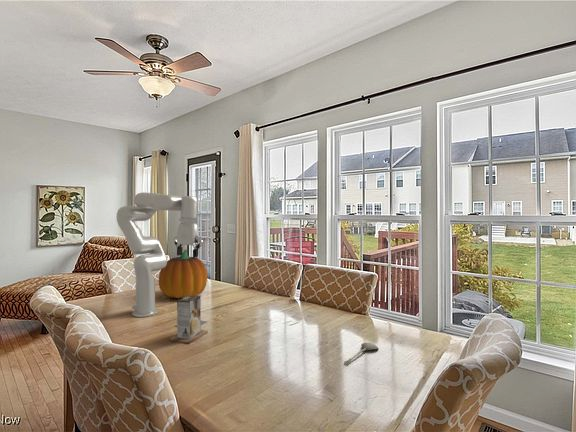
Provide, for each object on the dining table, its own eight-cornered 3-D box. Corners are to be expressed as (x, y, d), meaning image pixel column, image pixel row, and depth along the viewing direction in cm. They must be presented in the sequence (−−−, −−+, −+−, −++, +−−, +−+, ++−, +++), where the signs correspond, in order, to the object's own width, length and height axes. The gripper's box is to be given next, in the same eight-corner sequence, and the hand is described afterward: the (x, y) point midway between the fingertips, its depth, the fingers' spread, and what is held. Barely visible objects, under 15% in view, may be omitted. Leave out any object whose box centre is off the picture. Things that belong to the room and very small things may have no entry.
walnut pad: (169, 340, 132) (169, 338, 132) (189, 329, 145) (189, 328, 145) (189, 344, 129) (189, 342, 129) (207, 332, 141) (207, 331, 141)
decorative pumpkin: (194, 288, 225) (194, 246, 225) (215, 296, 203) (215, 250, 203) (152, 295, 205) (152, 249, 205) (170, 305, 183) (170, 254, 183)
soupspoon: (381, 350, 126) (366, 346, 131) (381, 342, 126) (366, 338, 131) (353, 368, 110) (337, 363, 114) (353, 358, 110) (337, 354, 115)
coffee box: (188, 330, 142) (188, 294, 142) (200, 331, 141) (201, 295, 140) (176, 337, 133) (176, 300, 133) (190, 339, 132) (190, 301, 132)
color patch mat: (174, 326, 149) (174, 325, 149) (189, 319, 159) (189, 318, 159) (193, 329, 145) (193, 329, 145) (207, 321, 155) (207, 321, 155)
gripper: (169, 220, 153) (168, 255, 153) (197, 222, 146) (196, 259, 147) (179, 220, 160) (178, 253, 160) (207, 222, 153) (206, 256, 153)
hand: (187, 256), depth 153 cm, fingers open, 9 cm apart
